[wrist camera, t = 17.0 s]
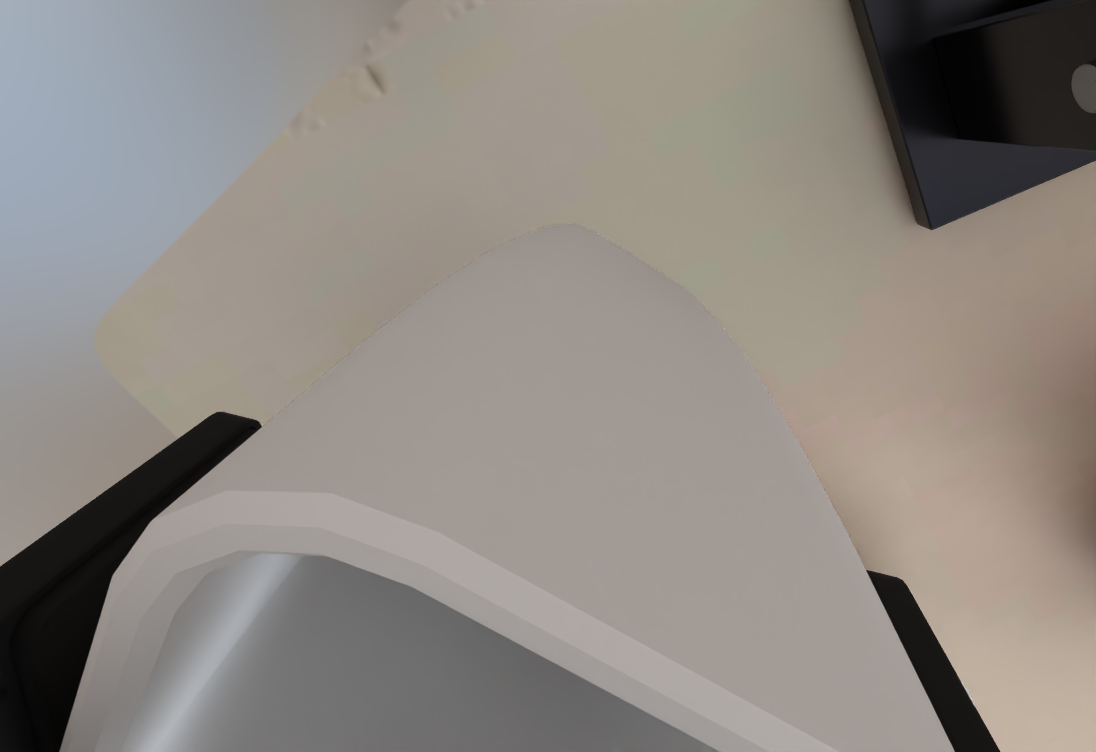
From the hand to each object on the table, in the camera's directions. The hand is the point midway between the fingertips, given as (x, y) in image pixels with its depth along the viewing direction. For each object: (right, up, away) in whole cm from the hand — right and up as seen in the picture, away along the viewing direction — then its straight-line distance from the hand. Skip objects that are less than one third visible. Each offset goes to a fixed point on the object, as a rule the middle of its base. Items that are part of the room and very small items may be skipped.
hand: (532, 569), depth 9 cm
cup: (+1, +4, +10) cm, 11 cm away
